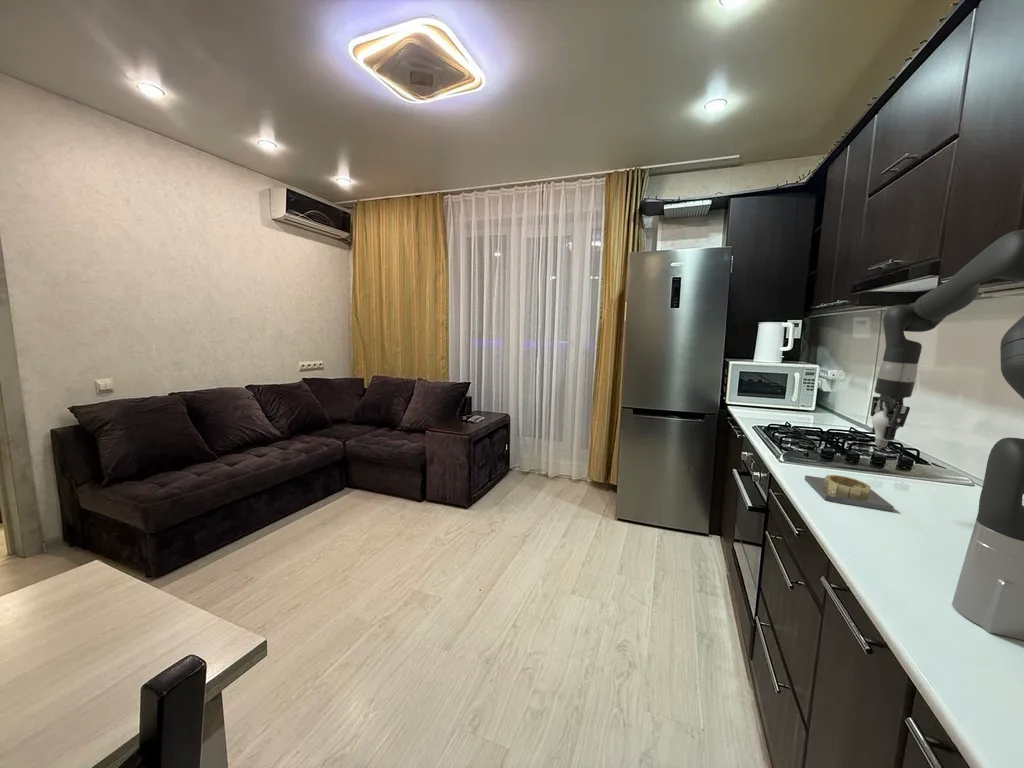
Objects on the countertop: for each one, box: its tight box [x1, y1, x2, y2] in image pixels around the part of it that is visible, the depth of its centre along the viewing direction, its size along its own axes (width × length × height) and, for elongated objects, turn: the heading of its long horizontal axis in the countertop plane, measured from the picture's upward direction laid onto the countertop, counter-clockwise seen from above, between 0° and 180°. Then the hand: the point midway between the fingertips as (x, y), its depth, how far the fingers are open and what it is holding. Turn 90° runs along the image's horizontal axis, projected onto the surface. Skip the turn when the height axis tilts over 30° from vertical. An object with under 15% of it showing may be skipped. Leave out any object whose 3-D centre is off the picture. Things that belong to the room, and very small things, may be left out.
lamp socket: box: [803, 474, 895, 512], centre depth 119 cm, size 16×16×4 cm
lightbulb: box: [871, 411, 901, 449], centre depth 111 cm, size 6×6×11 cm
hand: (882, 436), depth 112 cm, fingers closed on lightbulb, 5 cm apart
